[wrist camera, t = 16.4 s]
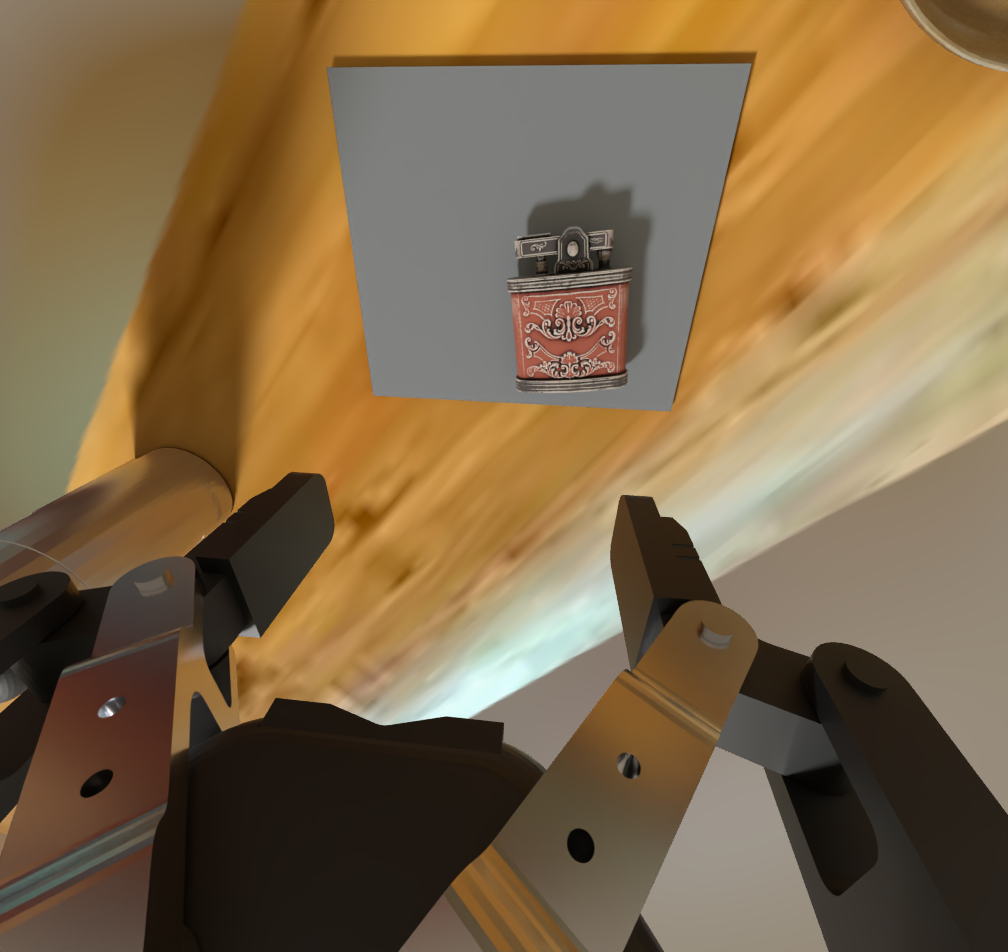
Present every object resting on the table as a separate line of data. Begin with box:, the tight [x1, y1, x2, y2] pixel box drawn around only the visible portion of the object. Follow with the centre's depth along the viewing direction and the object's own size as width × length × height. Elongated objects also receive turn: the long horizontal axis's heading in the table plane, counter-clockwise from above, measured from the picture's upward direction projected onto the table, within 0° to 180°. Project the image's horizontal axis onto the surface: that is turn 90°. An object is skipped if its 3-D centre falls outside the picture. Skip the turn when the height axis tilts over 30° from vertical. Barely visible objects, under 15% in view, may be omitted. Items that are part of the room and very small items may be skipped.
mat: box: [327, 63, 752, 411], centre depth 29 cm, size 24×20×1 cm
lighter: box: [507, 226, 632, 393], centre depth 28 cm, size 8×3×10 cm
